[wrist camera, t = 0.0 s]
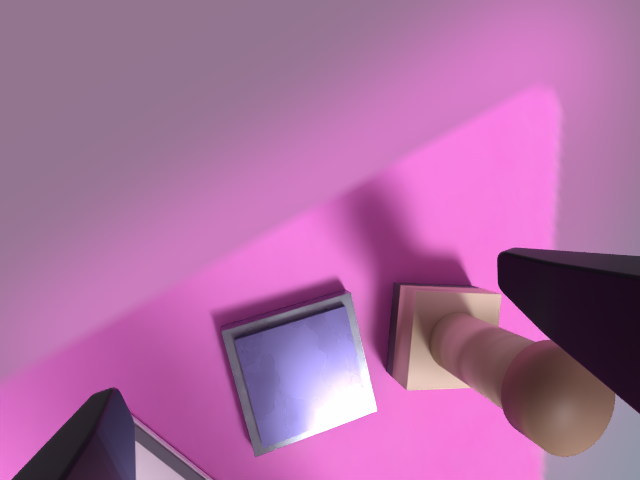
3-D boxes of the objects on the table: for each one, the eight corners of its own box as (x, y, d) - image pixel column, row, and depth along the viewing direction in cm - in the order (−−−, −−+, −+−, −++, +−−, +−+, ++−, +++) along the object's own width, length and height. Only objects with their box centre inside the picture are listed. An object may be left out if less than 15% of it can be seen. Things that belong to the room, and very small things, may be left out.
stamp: (463, 369, 28) (620, 469, 17) (385, 370, 26) (504, 482, 16) (471, 285, 28) (637, 333, 17) (393, 282, 26) (520, 333, 15)
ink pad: (371, 403, 26) (379, 413, 25) (253, 447, 24) (255, 461, 23) (345, 289, 25) (352, 293, 24) (221, 326, 23) (221, 333, 22)
